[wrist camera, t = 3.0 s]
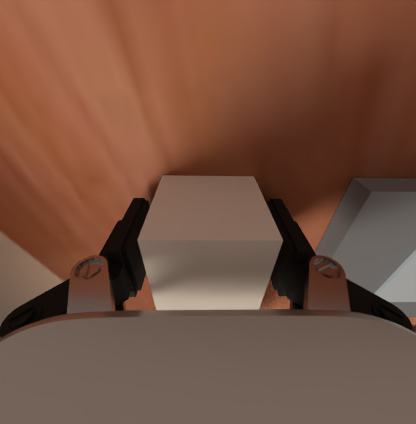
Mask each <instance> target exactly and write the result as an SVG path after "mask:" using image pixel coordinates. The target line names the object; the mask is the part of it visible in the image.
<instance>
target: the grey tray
mask: <svg viewBox="0 0 416 424" xmlns="http://www.w3.org/2000/svg"><path fill="white" fill-rule="evenodd" d="M315 254H316V255H322V256H327V257H329V258H332V259H333V260H335V261H337V262H338V263H339V264H340V265H341V266H342V267H343V269H344V271H345V274H346V279H348V280H350V281H352V282H354V283H356V284H357V285H359V286H361V287H363V288H365V289H366V290H368V291H370V292H372V293H374V294H375V295H377V296H379V297H381V298H383V299H385V300H386V301H388V302H390V303H392V304H393V305H395V306H396V307H398V308H399V309H400V310H401V311H402V312H404V313H405V315H406V316H407V317H416V178H352V180H351V182H350V184H349V186H348V188H347V190H346V192H345V194H344V196H343V198H342V200H341V202H340V204H339V206H338V208H337V210H336V212H335V214H334V216H333V218H332V220H331V222H330V224H329V226H328V228H327V230H326V232H325V234H324V236H323V238H322V239H321V241H320V243H319V245H318V247H317V249H316V251H315Z"/></svg>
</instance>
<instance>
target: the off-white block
mask: <svg viewBox="0 0 416 424" xmlns="http://www.w3.org/2000/svg"><path fill="white" fill-rule="evenodd" d="M137 241H138V244H139V248H140V252H141V255H142V259H143V263H144V266H145V270H146V273H147V277H148V281H149V284H150V288H151V292H152V295H153V299H154V303H155V306H156V310H243V309H259V308H260V305H261V302H262V300H263V297H264V294H265V291H266V288H267V285H268V282H269V280H270V277H271V274H272V271H273V268H274V265H275V263H276V260H277V257H278V254H279V251H280V248H281V246H282V243H283V239H282V237H281V235H280V232H279V230H278V228H277V226H276V224H275V221H274V219H273V217H272V215H271V213H270V210H269V208H268V206H267V204H266V202H265V200H264V197H263V195H262V193H261V191H260V189H259V186H258V184H257V182H256V180H255V178H254V176H178V175H162V177H161V180H160V183H159V185H158V188H157V190H156V193H155V196H154V198H153V201H152V203H151V206H150V209H149V211H148V214H147V216H146V219H145V222H144V224H143V227H142V229H141V232H140V235H139V237H138V240H137Z"/></svg>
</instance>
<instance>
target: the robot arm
mask: <svg viewBox="0 0 416 424" xmlns="http://www.w3.org/2000/svg"><path fill="white" fill-rule="evenodd" d="M266 204H267V206H268V208H269V210H270V213H271V215H272V217H273V219H274V221H275V224H276V226H277V228H278V230H279V232H280V235H281V237H282V239H283V243H282V246H281V248H280V251H279V254H278V257H277V260H276V263H275V265H274V268H273V271H272V274H271V277H270V278H271V281H272V284H273V287H274V289H275V290H277V291H278V294H279V296H287V298H288V299H290V308H289V309H243V310H136V311H126V307H125V301H126V300H127V299H129V297H136V294H137V291H138V290H141V288H142V285H143V281H144V278H145V274H146V270H145V266H144V263H143V259H142V255H141V252H140V248H139V244H138V241H137V240H138V237H139V235H140V232H141V229H142V227H143V224H144V222H145V219H146V216H147V214H148V211H149V209H150V206H149V201H146V200H145V198H134V199H133V200H132V202H131V204H130V206H129V208H128V210H127V212H126V213H125V215H124V217H123V219H122V220H120V221H118V222H117V224H116V225H115V227H114V229H113V231H112V233H111V234H110V236H109V238H108V240H107V241H106V243H105V245H104V247H103V249H102V250H101V252H100V254H99V256H98V255H94V256H89V257H87V258H84V259H82V260H81V261H79V262H78V263H77V264H76V265H75V266H74V267H73V268H72V270H71V273H70V279H68V280H66V281H64V282H63V283H61V284H59V285H57V286H55V287H54V288H52V289H50V290H48V291H46V292H45V293H43V294H41V295H39V296H37V297H36V298H34V299H32V300H30V301H28V302H27V303H25V304H23V305H21V306H20V307H18V308H17V309H15V310H14V311H12V312H11V313H10V314H9V315H8V316H7V317H6V319H5V320H4V321H3V322H2V324H1V326H0V424H416V325H412V324H411V322H410V320H409V318H408V317H407V316H406V315H405V313H404V312H402V311H401V310H400V309H399V308H398V307H396V306H395V305H393V304H392V303H390V302H388V301H386V300H385V299H383V298H381V297H379V296H377V295H375V294H374V293H372V292H370V291H368V290H366V289H365V288H363V287H361V286H359V285H357V284H356V283H354V282H352V281H350V280H348V279H346V274H345V271H344V269H343V267H342V266H341V265H340V264H339V263H338V262H337V261H335V260H333V259H332V258H329V257H327V256H322V255H316V254H315V252H314V250H313V249H312V247H311V245H310V244H309V242H308V240H307V239H306V237H305V235H304V234H303V232H302V230H301V229H300V227H299V225H298V224H297V222H295V221H294V220H293V219H292V217H291V215H290V213H289V212H288V210H287V208H286V207H285V205H284V203H283V201H282V200H281V199H270V201H267V202H266Z"/></svg>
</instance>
